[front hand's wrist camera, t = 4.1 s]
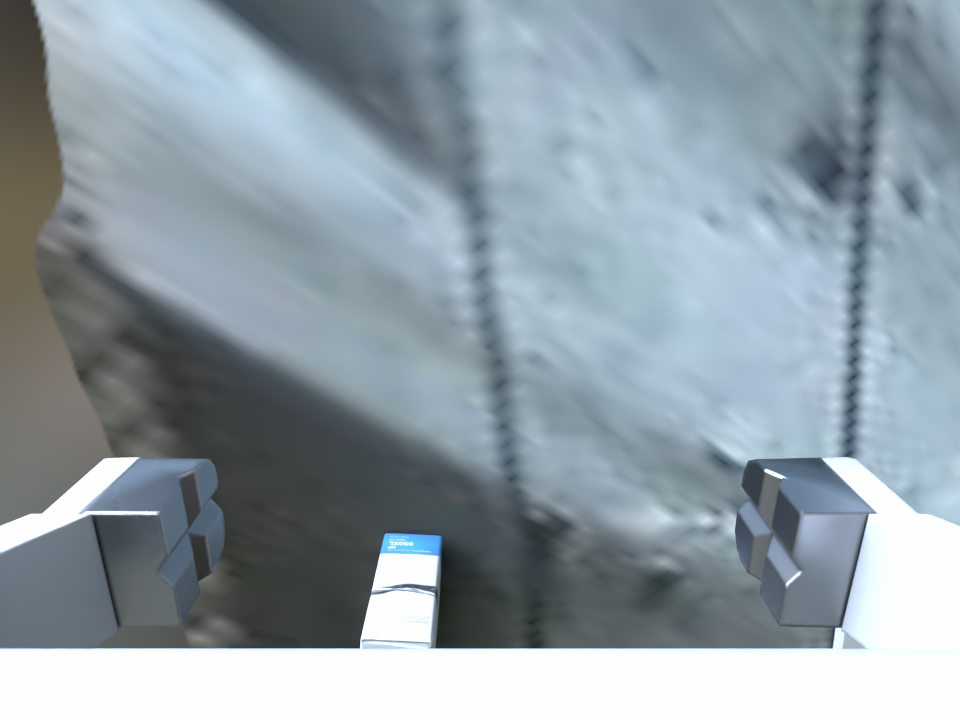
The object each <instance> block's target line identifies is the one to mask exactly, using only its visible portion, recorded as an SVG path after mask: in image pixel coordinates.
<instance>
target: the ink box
mask: <svg viewBox="0 0 960 720" xmlns="http://www.w3.org/2000/svg"><path fill="white" fill-rule="evenodd" d="M441 558H442V537H441V536H434V535H414V534H385V536H384V540H383V544H382V548H381V553H380V557H379V562H378V567H377V571H376V575H375V579H374V584H373V589H372V593H371V597H370V602H369V606H368V610H367V614H366V619H365V623H364V628H363V632H362V637H361V648H360V649H435V647H436V637H437V626H438V614H439V598H440V580H441Z"/></svg>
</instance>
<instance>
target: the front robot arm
mask: <svg viewBox="0 0 960 720" xmlns="http://www.w3.org/2000/svg"><path fill="white" fill-rule="evenodd" d="M218 486H219V485H218V480H217V475H216V470H215V466H214V465H213V464H212V462H211V461H210V460H209V459H170V458H141V457H132V458H109V459H103V460H102V461H101V462H100V463H99V464H98V465H97V466H96V467H94V468H93V469H92V470H91V471H90V472H89V473H88V474H87V475H85V476H84V477H83V478H82V479H81V480H80V481H79V482H77V483H76V484H75V485H74V486H73V487H72V488H71V489H70V490H68V491H67V492H66V493H65V494H64V495H63V496H62V497H61V498H59V499H58V500H57V501H56V502H55V503H54V504H53V505H52V506H50V507H49V508H48V509H47V510H46V511H45V512H44V513H43V514H30V515H27V516H25V517H22V518H20V519H17V520H15V521H12V522H10V523H7V524H5V525H2V526H0V720H960V526H958V525H955V524H953V523H950V522H948V521H945V520H943V519H940V518H938V517H935V516H933V515H930V514H917V513H916V512H915V511H914V510H913V509H912V508H911V507H910V506H908V505H907V504H906V503H905V502H904V501H903V500H902V499H901V498H900V497H898V496H897V495H896V494H895V493H894V492H893V491H892V490H891V489H889V488H888V487H887V486H886V485H885V484H884V483H883V482H882V481H880V480H879V479H878V478H877V477H876V476H875V475H874V474H873V473H871V472H870V471H869V470H868V469H867V468H866V467H865V466H864V465H862V464H861V463H860V462H859V461H858V460H856V459H853V458H849V457H840V458H791V459H756V460H750V461H748V463H747V465H746V467H745V470H744V474H743V479H742V485H741V486H742V487H743V489H744V490H745V492H746V493H747V495H748V497H749V499H748V501H747V502H746V503H745V504H744V505H743V506H742V507H741V508H740V509H739V510H738V511H737V519H736V527H735V534H736V544H737V550H738V553H739V556H740V559H741V562H742V564H743V565H744V567H745V569H746V571H747V573H749V574H750V575H752V576H754V577H755V578H757V579H759V580H760V581H762V583H761V589H760V595H761V596H762V598H763V600H764V601H765V603H766V605H767V606H768V608H769V610H770V611H771V613H772V615H773V616H774V618H775V620H776V621H777V623H778V625H779V626H790V627H826V628H842V629H841V631H842V632H844V633H845V634H847V635H848V636H849V637H851V638H852V639H853V640H855V641H856V642H857V643H859V644H860V645H861V646H863V647H864V648H866V649H146V648H143V649H142V648H140V649H137V648H136V649H135V648H129V649H127V648H126V649H124V648H120V649H119V648H117V649H113V648H111V649H107V648H106V649H105V648H102V649H100V648H98V649H96V647H97V646H99V645H100V644H101V643H103V642H104V641H106V640H107V639H108V638H110V637H111V636H112V635H114V634H115V633H116V632H118V628H133V627H168V626H181V625H182V623H183V621H184V620H185V618H186V616H187V615H188V613H189V611H190V610H191V608H192V606H193V605H194V603H195V601H196V600H197V598H198V596H199V595H200V589H199V583H198V581H200V580H201V579H203V578H205V577H206V576H208V575H210V574H211V573H213V571H214V569H215V567H216V565H217V564H218V562H219V560H220V557H221V552H222V548H223V544H224V530H225V525H224V518H223V511H222V510H221V509H220V508H219V507H218V506H217V505H216V504H215V503H214V502H213V501H212V499H211V497H212V495H213V493H214V492H215V490H216V489H217V487H218Z"/></svg>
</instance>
